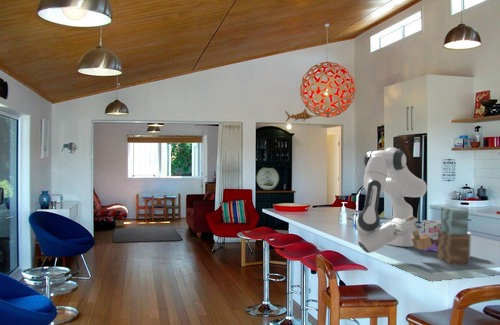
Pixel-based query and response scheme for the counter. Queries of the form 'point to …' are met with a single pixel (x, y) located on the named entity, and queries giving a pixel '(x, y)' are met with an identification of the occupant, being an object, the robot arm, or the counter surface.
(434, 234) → the candy box
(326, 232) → the counter surface
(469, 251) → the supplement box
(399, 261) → the counter surface
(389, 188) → the robot arm
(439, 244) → the tower
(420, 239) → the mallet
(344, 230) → the counter surface
